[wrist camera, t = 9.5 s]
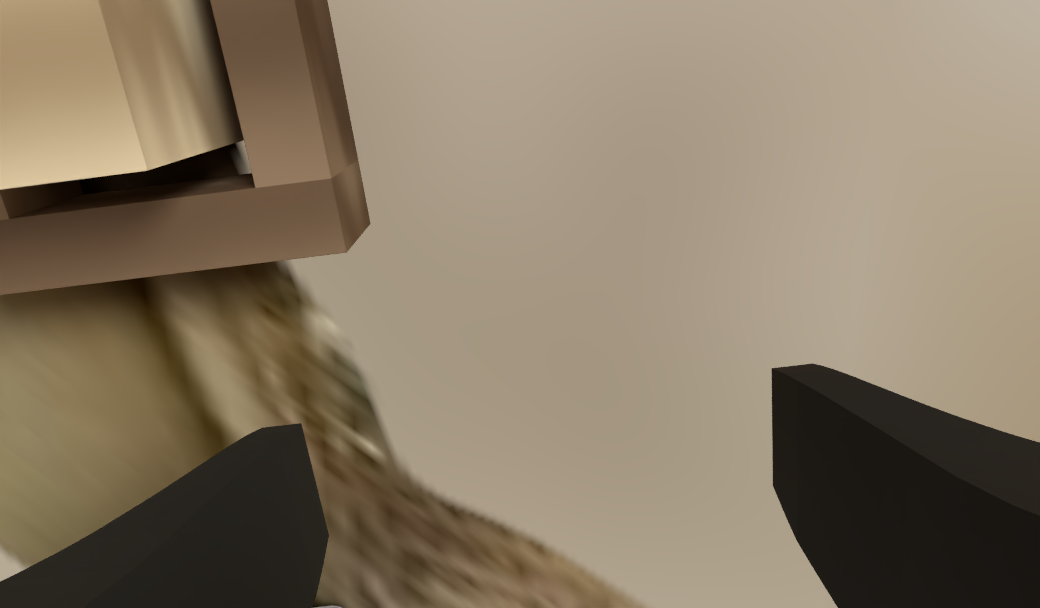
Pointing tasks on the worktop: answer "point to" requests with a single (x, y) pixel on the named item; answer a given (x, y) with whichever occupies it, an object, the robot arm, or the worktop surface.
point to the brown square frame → (217, 201)
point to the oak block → (109, 88)
